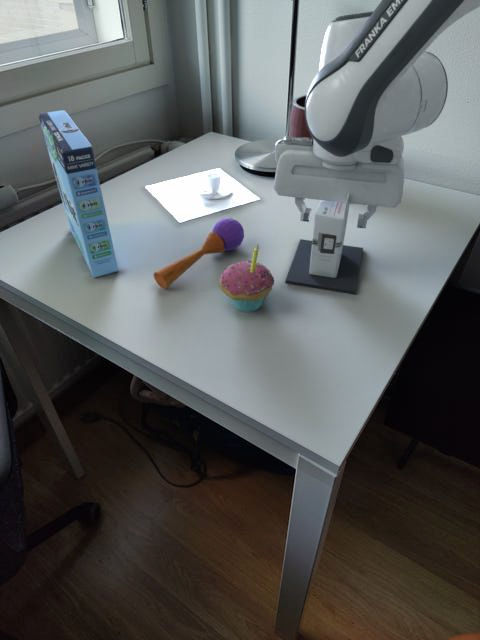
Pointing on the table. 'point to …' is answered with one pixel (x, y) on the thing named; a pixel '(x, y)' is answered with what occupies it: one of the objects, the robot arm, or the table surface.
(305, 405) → the table surface
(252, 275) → the cupcake
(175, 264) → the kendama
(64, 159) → the gum box
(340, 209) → the ink box
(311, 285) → the slate mat
